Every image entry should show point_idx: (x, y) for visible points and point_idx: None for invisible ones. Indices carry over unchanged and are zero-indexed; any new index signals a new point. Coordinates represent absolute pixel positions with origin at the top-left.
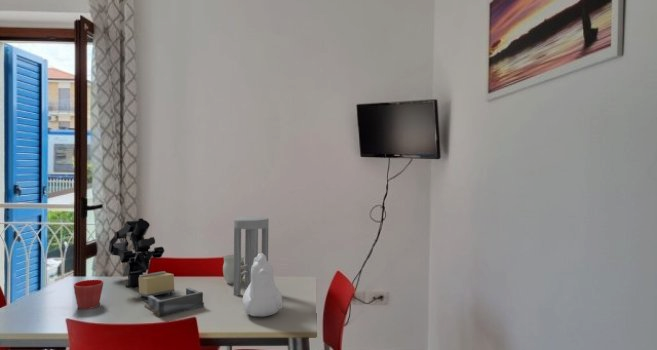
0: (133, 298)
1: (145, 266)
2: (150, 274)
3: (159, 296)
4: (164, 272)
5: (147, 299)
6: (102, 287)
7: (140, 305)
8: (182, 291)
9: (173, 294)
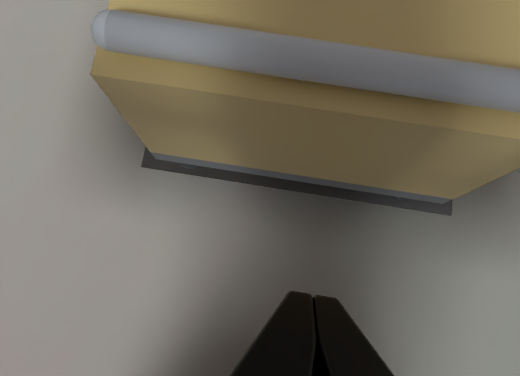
0: (470, 255)
1: (369, 356)
2: (389, 50)
3: None
4: (134, 16)
5: None
6: None
7: None
8: (40, 94)
9: None
